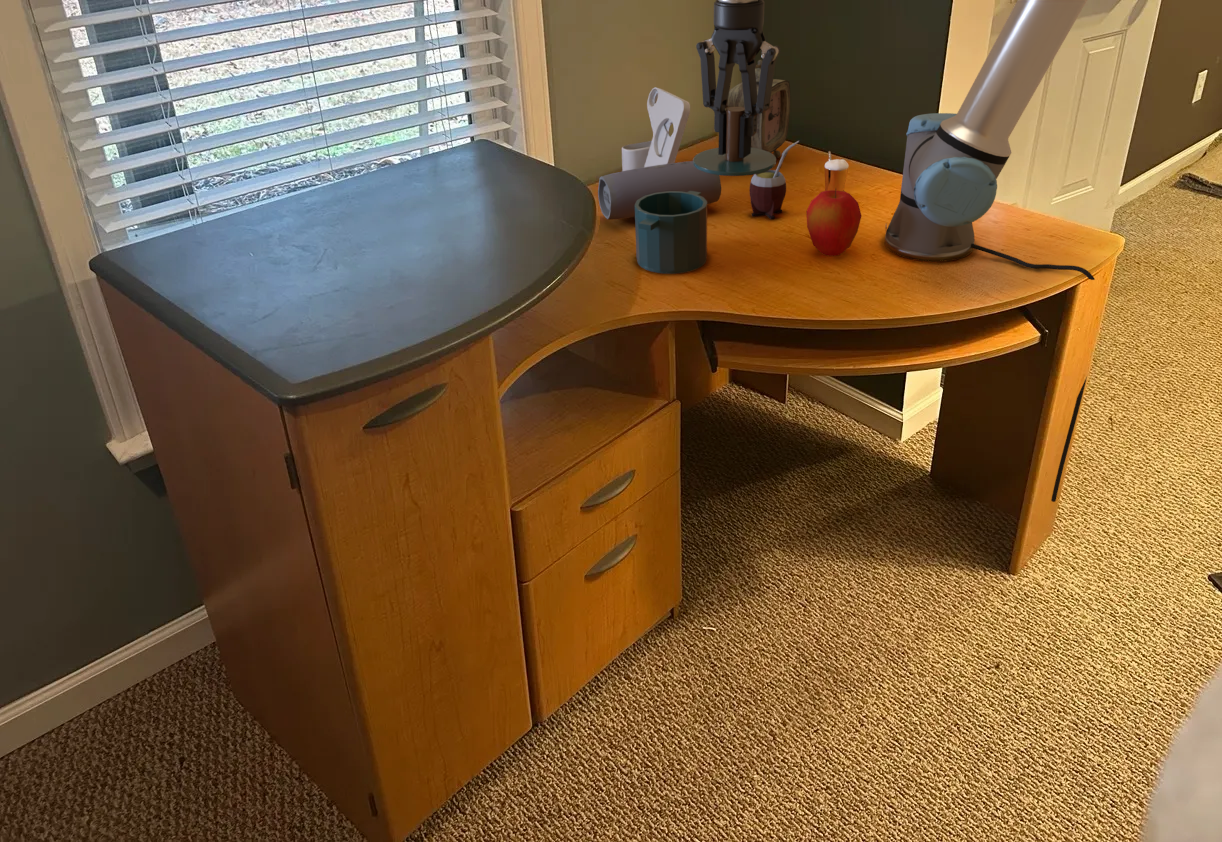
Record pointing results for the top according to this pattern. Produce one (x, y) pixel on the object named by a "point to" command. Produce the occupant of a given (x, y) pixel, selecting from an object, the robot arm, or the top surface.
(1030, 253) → the top surface
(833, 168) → the milkshake
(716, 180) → the bluetooth speaker
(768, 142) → the tabletop clock
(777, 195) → the mate gourd
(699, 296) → the top surface
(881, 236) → the top surface
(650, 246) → the pot
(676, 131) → the phone holder
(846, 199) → the apple
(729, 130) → the lid
